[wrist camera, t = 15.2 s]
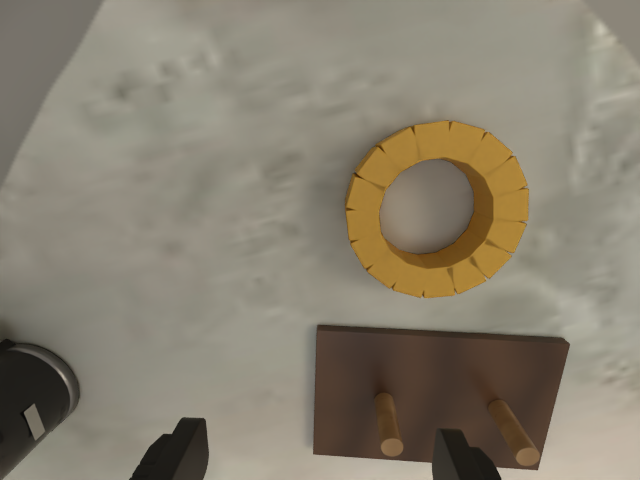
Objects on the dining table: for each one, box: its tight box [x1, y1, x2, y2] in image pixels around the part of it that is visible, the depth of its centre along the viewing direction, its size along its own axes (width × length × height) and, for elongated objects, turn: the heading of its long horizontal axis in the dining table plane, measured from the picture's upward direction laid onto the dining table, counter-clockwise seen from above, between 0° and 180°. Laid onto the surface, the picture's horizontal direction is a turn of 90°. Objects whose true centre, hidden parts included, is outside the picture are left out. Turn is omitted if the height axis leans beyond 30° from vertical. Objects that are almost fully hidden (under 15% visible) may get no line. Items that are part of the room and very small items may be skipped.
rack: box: [313, 325, 570, 470], centre depth 29 cm, size 22×14×6 cm, turn 88°
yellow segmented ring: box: [345, 120, 529, 298], centre depth 26 cm, size 13×13×4 cm
